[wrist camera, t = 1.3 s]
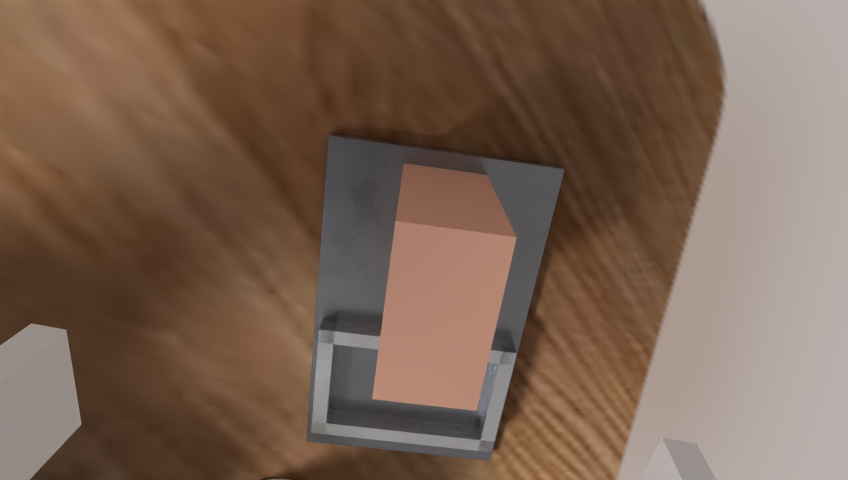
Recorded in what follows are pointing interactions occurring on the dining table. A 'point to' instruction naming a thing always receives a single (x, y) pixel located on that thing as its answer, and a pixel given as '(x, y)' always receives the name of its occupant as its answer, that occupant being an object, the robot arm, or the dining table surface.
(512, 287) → the pocket plate
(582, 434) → the dining table surface
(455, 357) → the terracotta block
